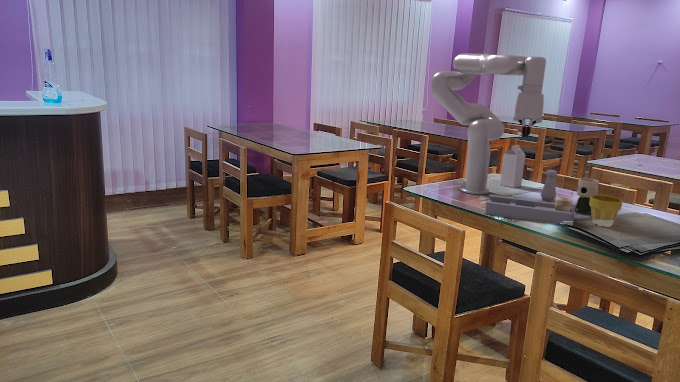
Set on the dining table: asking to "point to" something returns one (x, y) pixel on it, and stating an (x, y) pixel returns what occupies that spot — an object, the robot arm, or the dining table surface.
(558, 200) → the maple block
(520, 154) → the milk carton
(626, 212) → the dining table surface
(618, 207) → the plant pot
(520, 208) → the grey tray
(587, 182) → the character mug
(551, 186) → the salt shaker
